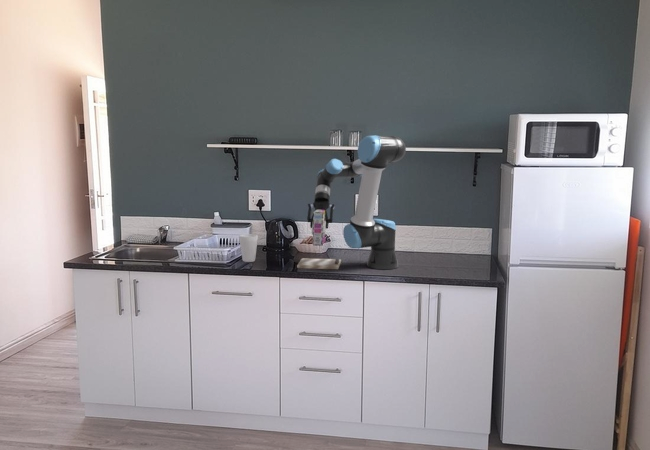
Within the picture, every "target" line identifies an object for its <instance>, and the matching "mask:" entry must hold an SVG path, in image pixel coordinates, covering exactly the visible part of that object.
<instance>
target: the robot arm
mask: <svg viewBox="0 0 650 450" xmlns="http://www.w3.org/2000/svg"><path fill="white" fill-rule="evenodd" d="M406 150H407V149H406V144H405V142H404V141H403V139H401V138H400V137H399V136H395V135H375V134H371V135H367V136H364V137H363V138H362V139H361V140H360V141H359V144H358V146H357V157H358V159H356V160H353V161H351V162H342V161H341V160H340V159H337V158H332V159H331V160H329V161H328V163H326V165H325V167H324V168H323V169H321V170H319V171H318V172H317V175H316V182H315V185H316V186H315V192H314V200H313V201H314V202H313V203H308V204H307V207H308V211H307V218H306V219H307V222H308V223H310V224H309V226H310V227H309V228H310V229H311V235H312V236H313V215H312V209H313V208H314V211H315V210H325V221H324V230H323V233H324V235H325V236H326V232H327V231H326V230H327V229H329V224H332V223H333V220H334V219H333V218H334V211H335V208H336V207H335V204H330V199H331V198H330V197H331V196H330V195H331V185H332V183H333V182H334V181H335V180H336V178H359V177H361V179H360V182H359V183H360V184H359V190H358V195H357V201H356V207H355V211H354V215H353V216H352V217H350V220H349V223H347V224H346V225H344V227H343V230H342V235H343V239H344V242H345V243H346V246H348V247H349V248H350V249H363V248H364V249H365V248H370V253H369V255H368V258H367V261H366V266H367V267H368V268H370V269H373V270H374V269H375V270H394V269H398V267H399V261H398V257H397V254H396V223H395V221H393V220H388V219H382V218H374V213H375V208H376V205H377V204H376V203H377V198H378V192H379V188H380V184H381V183H380V182H381V178H382V172H383V171H384V170H385V169H387V166H388V164H394V163H396V162H398V161H401V160H402V159H403V158H404V157H405V155H406V152H407V151H406ZM328 209H330V212H329V217H328V212H327V211H328Z"/></svg>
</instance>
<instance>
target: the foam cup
mask: <svg viewBox="0 0 650 450" xmlns="http://www.w3.org/2000/svg"><path fill="white" fill-rule="evenodd" d="M238 240H239V245H240V251H241V252H240V253H241V259H242V262H245V263H251V262H255V261H256V255H257V246H258V240H259V235H258V234H256V233H241V234H239V235H238Z"/></svg>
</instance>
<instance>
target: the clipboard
mask: <svg viewBox="0 0 650 450" xmlns="http://www.w3.org/2000/svg"><path fill="white" fill-rule="evenodd" d="M341 262H342V259H341V258H338V259H337V258H309V257H308V258H307V257H306V258H304V257H302V258H301V259H300V261H299V262H298V263H297V265H296V268H297V269H310V270H311V269H316V270H321V269H322V270H339V269H340V265H341V264H342V263H341Z"/></svg>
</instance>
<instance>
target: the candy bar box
mask: <svg viewBox="0 0 650 450" xmlns="http://www.w3.org/2000/svg"><path fill="white" fill-rule="evenodd" d="M312 216H313V235H312V245H313V246H316V247H317V246H318V247H319V246H320V247H321V246H324V244H325V243H326V234H325V235H324V233H323V230H324V221H326V220H325V210H315V209H314V211H313V212H312Z"/></svg>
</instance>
